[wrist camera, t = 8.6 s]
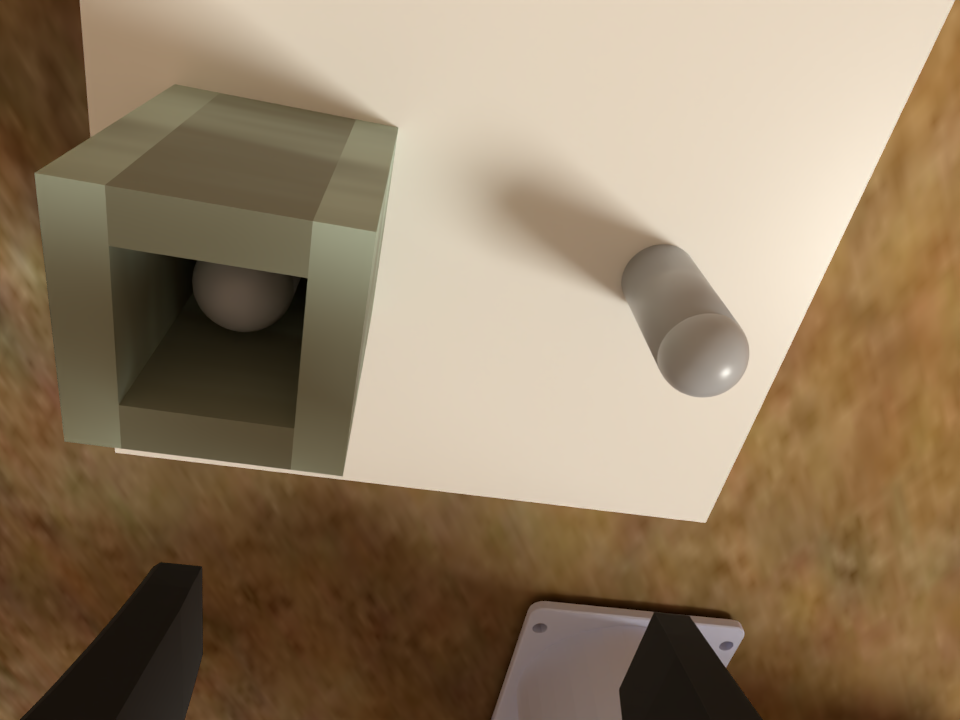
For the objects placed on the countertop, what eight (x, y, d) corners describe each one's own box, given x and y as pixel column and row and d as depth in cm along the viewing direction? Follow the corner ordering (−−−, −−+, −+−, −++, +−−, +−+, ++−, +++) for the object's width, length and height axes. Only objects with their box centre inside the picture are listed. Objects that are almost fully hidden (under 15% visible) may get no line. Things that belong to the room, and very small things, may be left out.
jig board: (691, 489, 23) (759, 647, 18) (135, 419, 21) (38, 578, 16) (926, -35, 16) (1153, -11, 11) (96, -234, 13) (-112, -322, 8)
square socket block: (371, 315, 18) (342, 476, 13) (176, 284, 17) (63, 441, 12) (398, 127, 16) (376, 232, 10) (174, 83, 15) (33, 172, 10)
